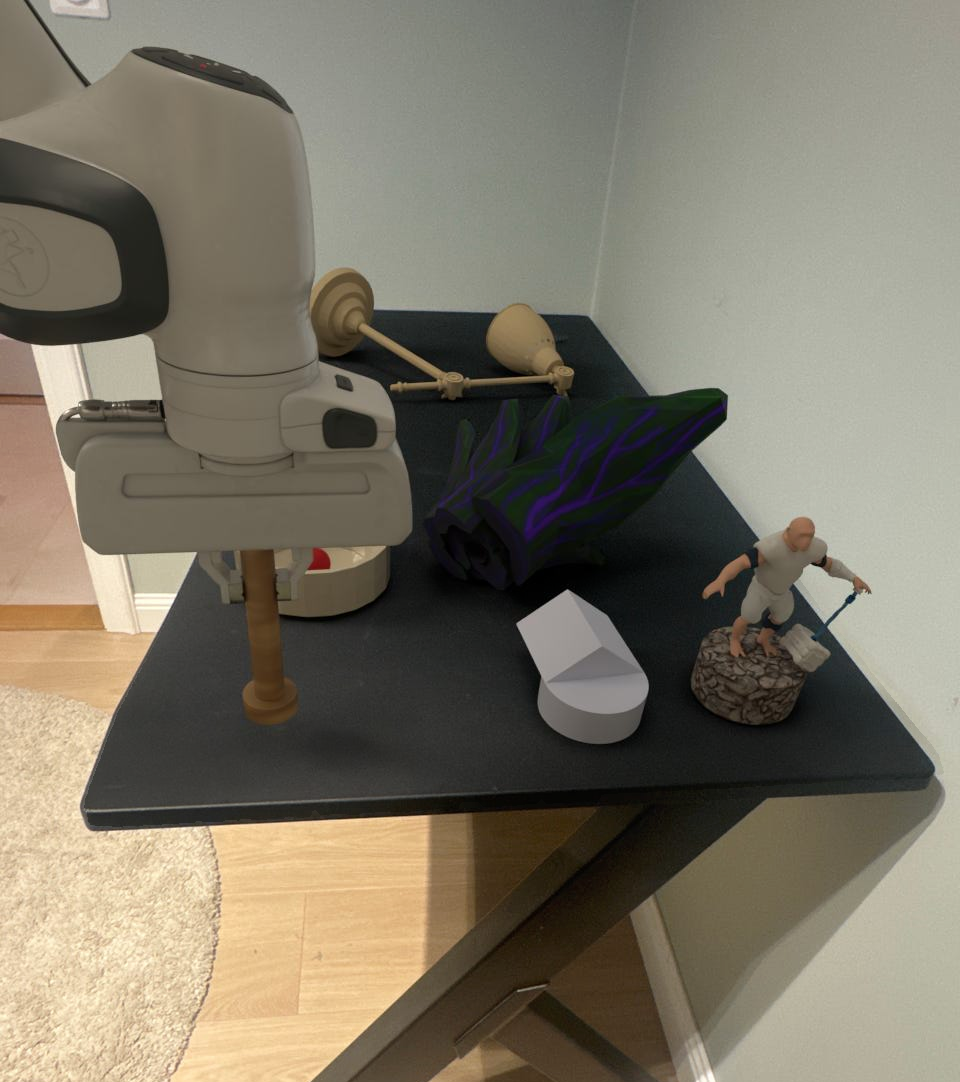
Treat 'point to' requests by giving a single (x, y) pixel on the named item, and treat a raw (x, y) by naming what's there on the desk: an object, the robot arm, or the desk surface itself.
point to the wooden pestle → (265, 643)
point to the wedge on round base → (584, 671)
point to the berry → (320, 560)
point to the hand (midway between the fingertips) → (261, 597)
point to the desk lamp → (345, 321)
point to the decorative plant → (560, 480)
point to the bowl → (336, 580)
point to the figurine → (766, 631)
